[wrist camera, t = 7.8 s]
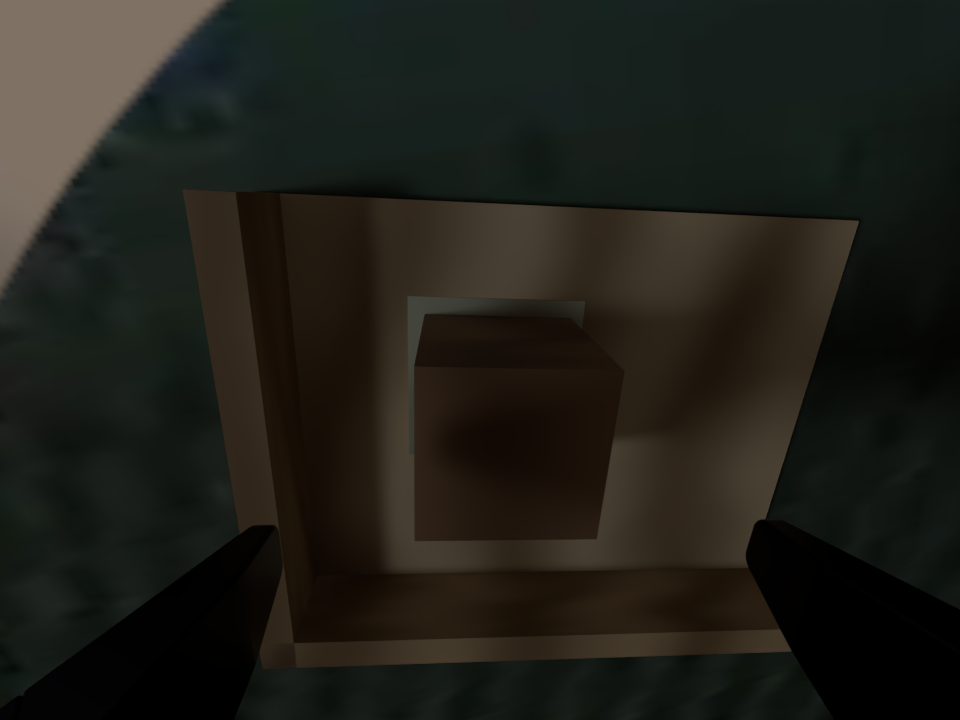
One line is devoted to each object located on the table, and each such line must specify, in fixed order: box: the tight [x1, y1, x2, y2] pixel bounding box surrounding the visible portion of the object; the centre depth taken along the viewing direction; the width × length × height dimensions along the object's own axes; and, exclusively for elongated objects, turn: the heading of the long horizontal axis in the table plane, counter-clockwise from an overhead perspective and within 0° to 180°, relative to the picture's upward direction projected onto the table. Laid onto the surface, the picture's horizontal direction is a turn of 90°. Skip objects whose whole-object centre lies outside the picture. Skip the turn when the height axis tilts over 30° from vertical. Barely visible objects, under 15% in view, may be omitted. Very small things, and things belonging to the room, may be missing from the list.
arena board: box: [183, 190, 859, 669], centre depth 16 cm, size 20×16×4 cm
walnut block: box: [414, 314, 625, 541], centre depth 14 cm, size 5×5×5 cm
